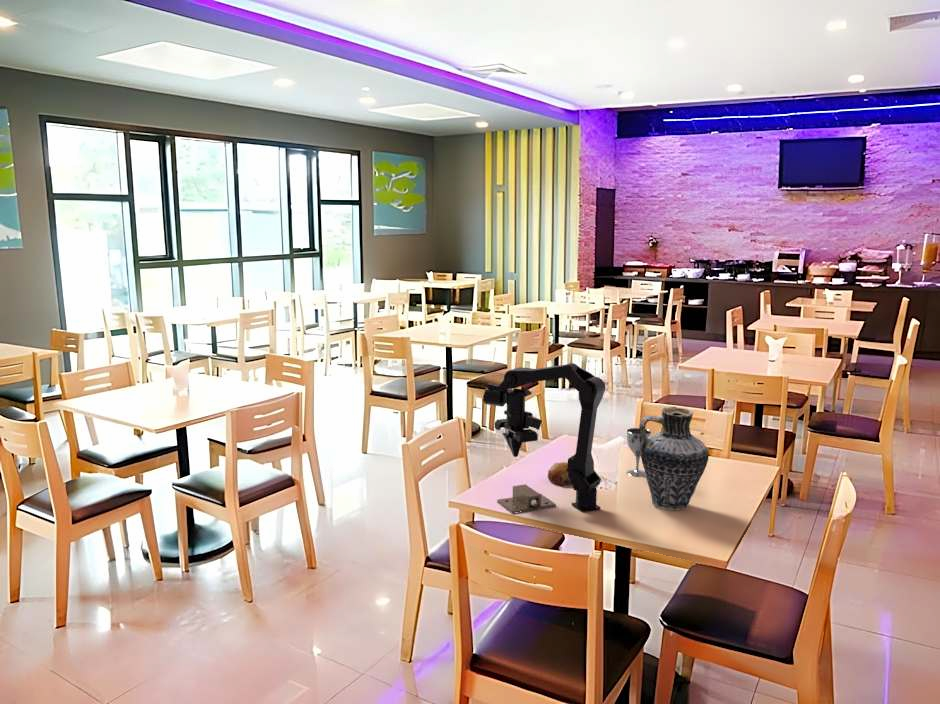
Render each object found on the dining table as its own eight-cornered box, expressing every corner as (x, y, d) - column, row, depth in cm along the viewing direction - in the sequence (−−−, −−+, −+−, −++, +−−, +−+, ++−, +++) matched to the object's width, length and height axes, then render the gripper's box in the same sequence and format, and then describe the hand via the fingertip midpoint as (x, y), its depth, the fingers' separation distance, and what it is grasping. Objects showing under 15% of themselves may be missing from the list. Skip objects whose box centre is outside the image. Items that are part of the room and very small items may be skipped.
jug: (685, 492, 241) (690, 400, 236) (717, 515, 222) (724, 416, 217) (624, 497, 237) (628, 403, 232) (652, 521, 218) (657, 419, 213)
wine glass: (631, 478, 255) (633, 434, 252) (621, 470, 262) (623, 428, 260) (653, 476, 256) (655, 433, 254) (642, 469, 264) (644, 427, 262)
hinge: (555, 506, 229) (556, 492, 228) (512, 513, 223) (512, 499, 222) (539, 495, 238) (540, 482, 237) (497, 502, 232) (497, 488, 231)
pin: (539, 507, 226) (540, 497, 225) (530, 509, 225) (530, 499, 224) (521, 494, 236) (521, 485, 236) (512, 496, 235) (512, 486, 235)
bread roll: (577, 488, 255) (577, 464, 257) (578, 485, 245) (579, 460, 247) (547, 487, 256) (548, 463, 258) (548, 484, 246) (548, 459, 248)
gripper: (553, 412, 231) (552, 461, 234) (524, 399, 248) (524, 445, 251) (521, 416, 227) (520, 466, 229) (493, 402, 244) (493, 449, 246)
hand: (515, 456), depth 239 cm, fingers closed
